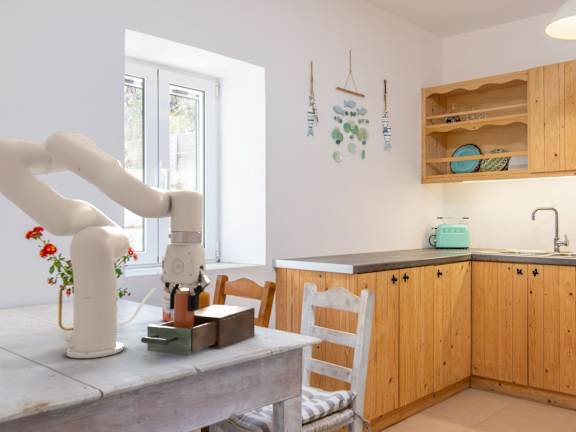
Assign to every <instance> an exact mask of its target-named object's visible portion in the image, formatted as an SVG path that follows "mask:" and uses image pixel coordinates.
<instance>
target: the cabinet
mask: <svg viewBox="0 0 576 432" xmlns="http://www.w3.org/2000/svg"><path fill="white" fill-rule="evenodd" d="M255 313H256V312H255V307H252V306H240V305H238V306H237V305H228V304H227V305H226V304H212V305H210V306H208V307H204V308H200V309H198V310H195V313H194V318H196V319H207V320H218V321H217V343H216V344H213V345H210V346H208V347H207V348H208V349H209V348H210V349H218V350H220V349H224V348H225V347H228V346H231V345H234V344H236V343H238V342H242V341H245V340H247V339H249V338H252V337H255V315H256V314H255Z"/></svg>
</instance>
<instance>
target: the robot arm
mask: <svg viewBox="0 0 576 432" xmlns="http://www.w3.org/2000/svg"><path fill="white" fill-rule="evenodd" d="M66 171H69V172H72V173H73V174H75V175H76V176H78V177H80V178H81V179H83V180H84V181H86V182H88V183H89V184H91V185H93V186H95V187H96V188H97V189H98V190H99V191H100V192H102V193H103V194H104V195H105V196H106V197H108V198H109V199H110V200H111V201H113V202H114V203H116V204H118V205H119V206H121V207H123V208H124V209H126V210H128V211H129V212H131V213H132V214H134V215H136V216H138V217H140V218H145V219H162V218H170V233H168V238H169V239H170V243H167V246H166V248H165V249H166V250H165V253H164V257H165V259H164V269H163V276H162V275H161V277H160V282H163V283H164V284H165V286H166V287H167V289H168V293H170V309H174V293H176V289H178V288H180V286H181V284H189V289H190V294H191V295H190V296H189V297H188V311H190V312H191V311H195V310H198V309H199V295H200V294H201V293H202V291H203V290H204V291H205V289H206V288H208V286H209V285H210V284H211V281H210V279H209V278H208V275H207V274H206V272H207V267H206V265H207V264H206V253H205V247H204V244H203V242H202V241H203V215H204V213H203V210H204V209H203V207H204V196H203V193H202V192H201V191H199V190H192V189H191V190H190V189H189V190H188V189H177V190H170V189H169V190H168V189H163V188H158V187H152V186H150V185H148V184H147V183H145V182H143V181H142V180H140V179H138V178H136V177H135V176H133V175H132V174H130V173H129V172H127V170H125V169H124V168H123V167H122V164H121V162H120V160H119V159H118V158H116V157H114V156H113V155H111V154H109V153H108V152H106V151H104V150H103V149H102V148H100V147H98V146H97V145H96V142H94V141H93V140H92V139H91V138H89V137H87V136H86V135H83V134H80V133H77V132H74V131H70V130H57V131H54V132H52V133H51V134H49V136H48V137H47V138H46V140H45V141H42V142H41V141H40V142H35V141H31V140H29V139H28V140H27V139H22V138H18V137H2V138H0V194H1V195H2V196H3V197H4V198H6V199H7V200H8V201H10V202H11V203H12V204H14V205H15V206H16V207H17V208H18V209H20V210H21V211H22V212H23V213H24V214H26V215H27V216H28V217H29V218H31V219H32V220H33V221H34V222H36V223H37V224H38V225H39V226H40V227H42V228H43V230H45V231H46V232H48V233H49V234H51V235H53V236H56V237H72V239H71V242H70V246H69V255H70V262H71V266H72V278H73V332H72V333H71V334H70V335H68V336H66V337H65V339H64V340H65V342H66V343H70V344H71V345H70V346H71V347H69V348H68V349H66V351H65V352H66V353H65V355H66V356H67V357H68V358H72V359H93V358H95V359H96V358H101V357H107V356H111V355H116V354H119V353H120V352H122V351H123V350H124V344H123V343H122V342H118V341H117V339H118V338H117V332H118V329H117V326H118V325H117V323H118V320H117V319H118V316H117V315H118V313H117V311H118V309H117V307H118V304H117V302H118V299H117V298H118V296H117V295H118V290H117V289H118V288H117V286H118V285H117V272H116V267H115V261H117V260H120V259H121V258H123V257H124V256H125V255H127V253H128V251H129V248H130V238H129V236H128V234H127V233H126V231H125V230H124V229H123V228H122V227H121V226H119V225H118V224H117V223H116V222H115V221H113V220H112V219H110V218H109V217H108V216H107V215H106V214H104V213H103V212H102V210H100V209H98V207H96V206H94V205H93V204H91V203H89V202H87V201H85V200H82V199H76V198H75V199H73V198H69V197H66V196H64V195H62V194H61V193H60V192H58V191H56V189H54V188H53V187H52V186H51V185H50V184H48V183H47V182H45V180H42V179H41V178H39V177H38V175H39V176H41V175H48V174H55V173H61V172H66ZM194 282H195V283H194ZM200 283H201V284H200ZM175 284H176V285H175ZM194 285H195V287H194Z"/></svg>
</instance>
